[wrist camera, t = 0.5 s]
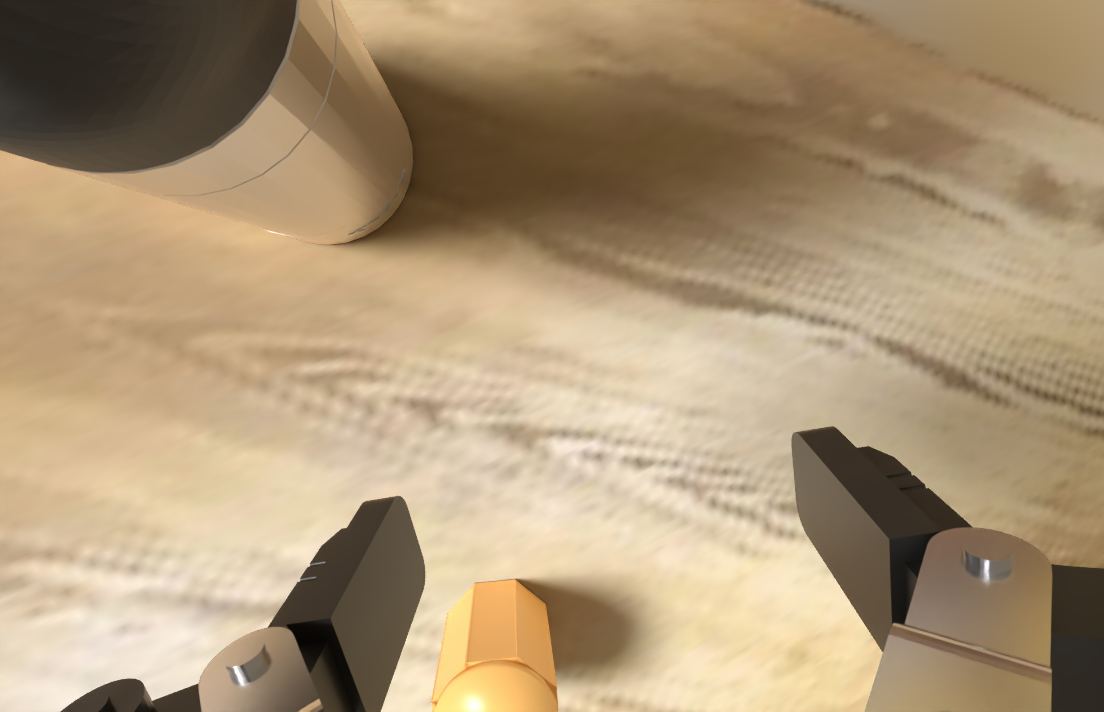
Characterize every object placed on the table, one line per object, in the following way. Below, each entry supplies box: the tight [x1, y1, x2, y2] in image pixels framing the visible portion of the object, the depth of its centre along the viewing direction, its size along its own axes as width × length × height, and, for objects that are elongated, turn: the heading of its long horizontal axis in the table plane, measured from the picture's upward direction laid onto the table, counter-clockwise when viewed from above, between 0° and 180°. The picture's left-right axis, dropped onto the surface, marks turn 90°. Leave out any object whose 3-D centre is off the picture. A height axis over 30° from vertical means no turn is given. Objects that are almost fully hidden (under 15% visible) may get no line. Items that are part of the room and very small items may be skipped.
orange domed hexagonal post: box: [431, 579, 558, 712], centre depth 30 cm, size 6×6×8 cm
